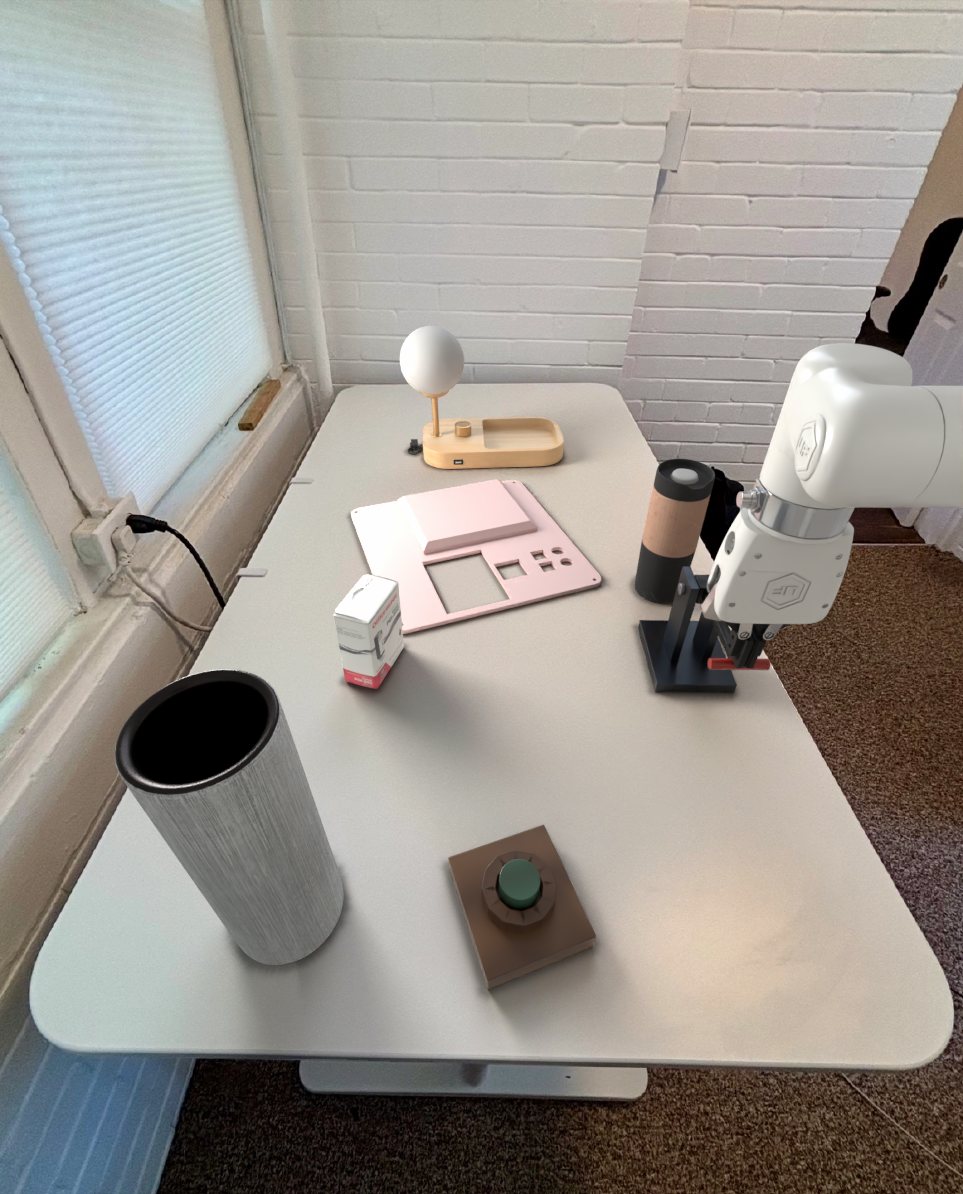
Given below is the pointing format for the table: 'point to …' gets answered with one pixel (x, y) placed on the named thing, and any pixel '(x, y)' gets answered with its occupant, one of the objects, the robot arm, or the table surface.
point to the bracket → (684, 646)
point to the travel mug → (672, 526)
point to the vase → (235, 809)
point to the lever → (723, 636)
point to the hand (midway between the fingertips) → (739, 658)
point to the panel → (469, 547)
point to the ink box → (369, 630)
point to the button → (519, 883)
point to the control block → (513, 934)
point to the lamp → (470, 441)
